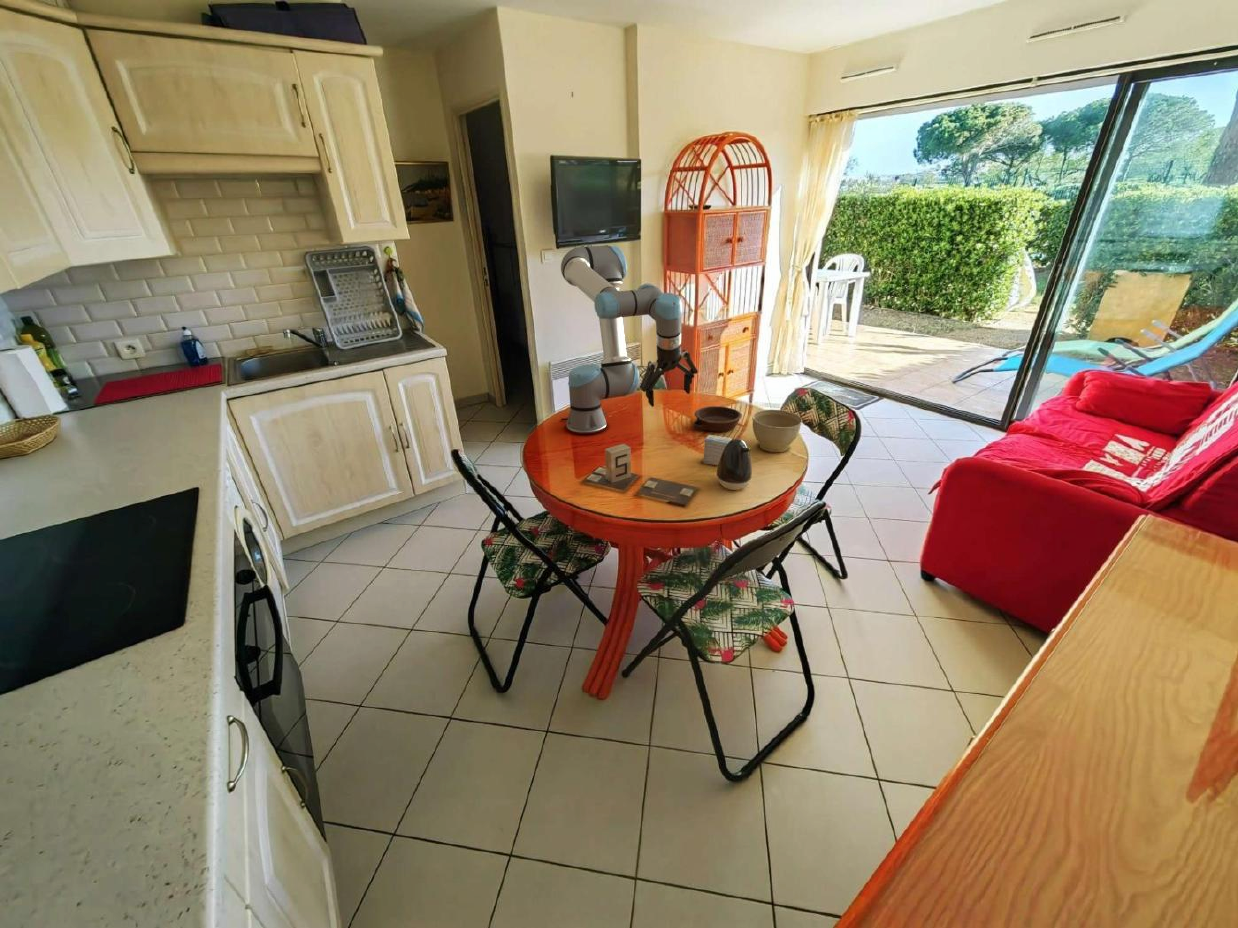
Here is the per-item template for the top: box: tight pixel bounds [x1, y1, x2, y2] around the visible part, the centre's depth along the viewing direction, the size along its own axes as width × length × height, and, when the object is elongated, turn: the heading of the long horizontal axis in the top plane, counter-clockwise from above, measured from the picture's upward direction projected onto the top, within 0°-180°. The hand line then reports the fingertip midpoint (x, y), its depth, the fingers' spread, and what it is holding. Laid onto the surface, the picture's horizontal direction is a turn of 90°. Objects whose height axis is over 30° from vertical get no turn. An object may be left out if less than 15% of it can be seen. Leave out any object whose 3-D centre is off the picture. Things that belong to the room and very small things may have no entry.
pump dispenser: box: [716, 438, 753, 491], centre depth 149 cm, size 10×10×15 cm
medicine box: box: [702, 434, 733, 466], centre depth 165 cm, size 8×4×9 cm, turn 65°
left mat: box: [582, 466, 640, 492], centre depth 157 cm, size 14×11×1 cm
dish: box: [692, 405, 743, 433], centre depth 194 cm, size 18×22×5 cm
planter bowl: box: [751, 409, 803, 453], centre depth 174 cm, size 16×16×11 cm
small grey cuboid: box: [604, 443, 632, 483], centre depth 155 cm, size 4×7×10 cm, turn 124°
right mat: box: [636, 476, 698, 508], centre depth 149 cm, size 15×11×1 cm
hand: (669, 398), depth 172 cm, fingers open, 13 cm apart
